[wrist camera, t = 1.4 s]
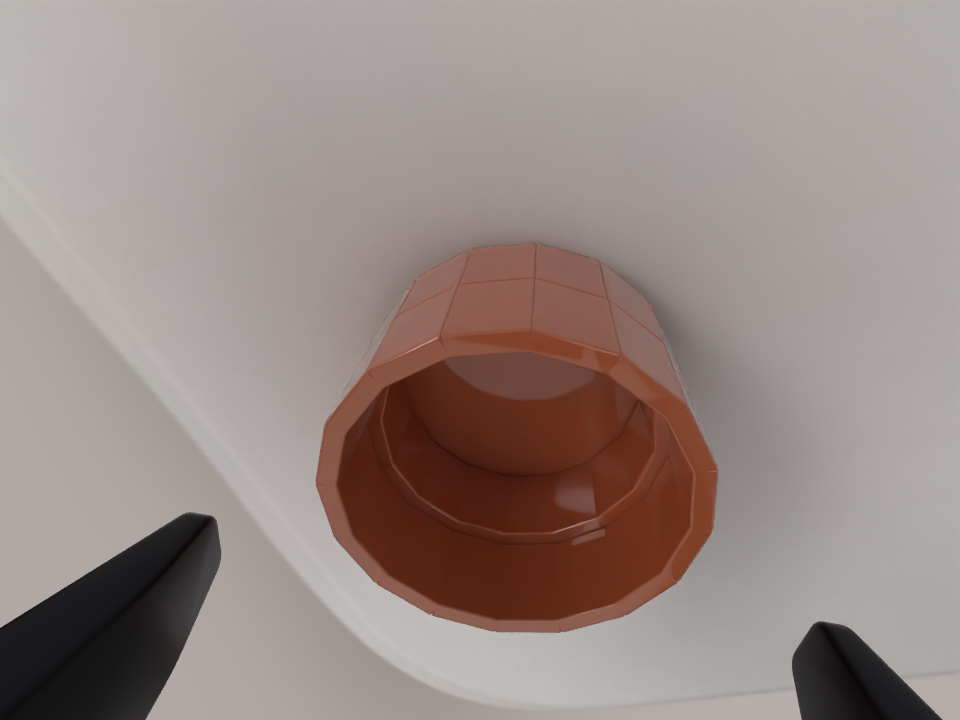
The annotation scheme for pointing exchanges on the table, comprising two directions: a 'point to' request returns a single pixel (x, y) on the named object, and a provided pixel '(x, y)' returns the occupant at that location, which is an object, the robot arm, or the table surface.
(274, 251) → the table surface
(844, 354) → the table surface
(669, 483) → the small bowl
